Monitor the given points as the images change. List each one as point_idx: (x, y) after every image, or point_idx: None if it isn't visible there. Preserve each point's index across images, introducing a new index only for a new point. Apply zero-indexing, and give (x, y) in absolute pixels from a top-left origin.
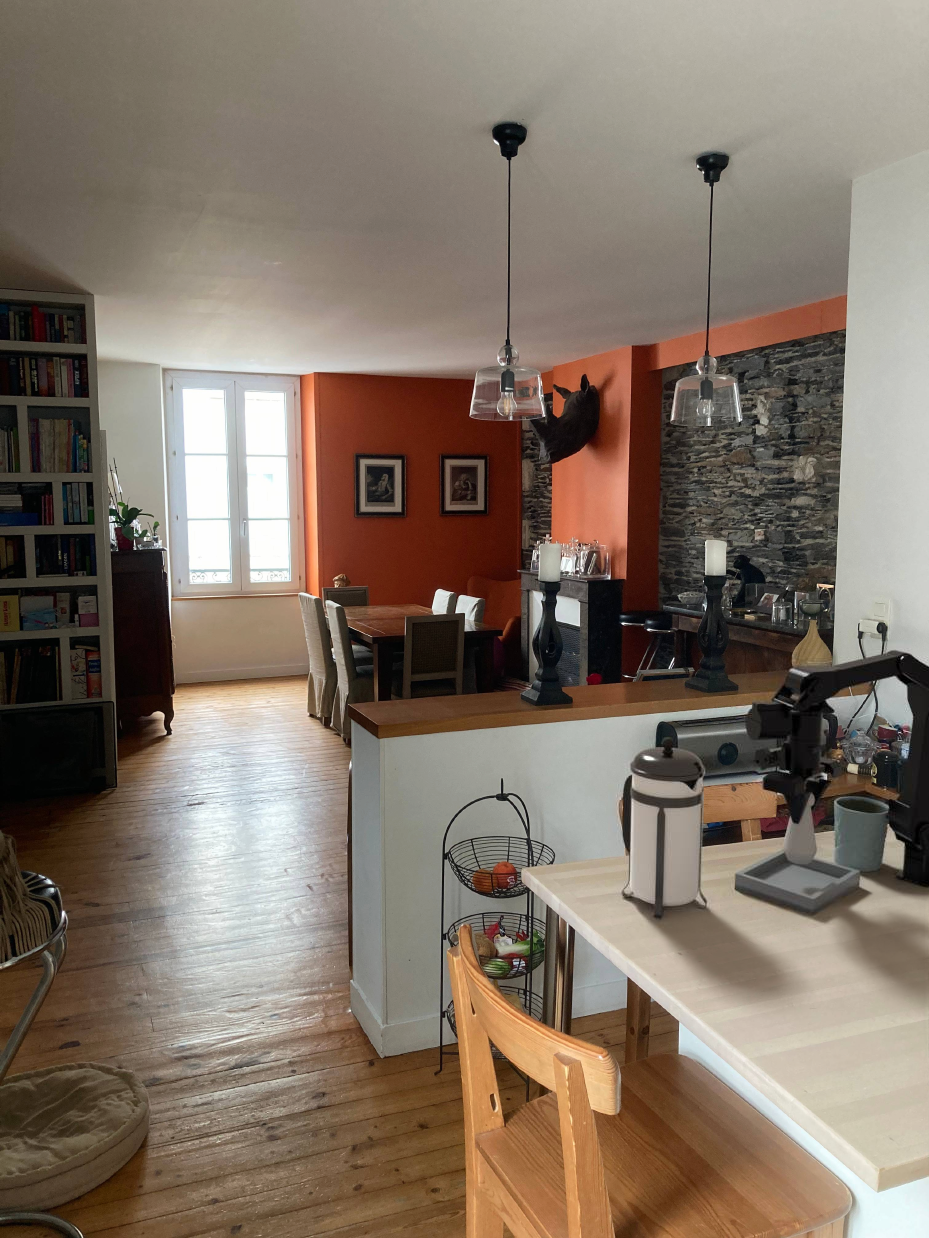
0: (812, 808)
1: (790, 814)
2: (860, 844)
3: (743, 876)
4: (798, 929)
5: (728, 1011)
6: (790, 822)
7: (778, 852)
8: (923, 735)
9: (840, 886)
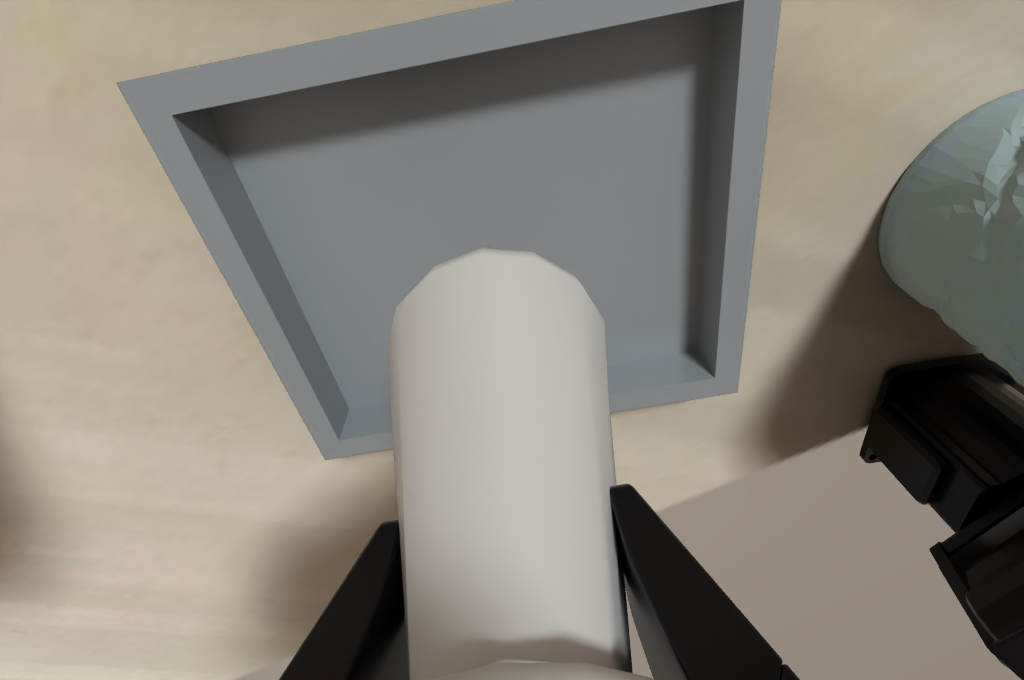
0: (648, 658)
1: (326, 608)
2: (981, 331)
3: (153, 146)
4: (223, 446)
5: None
6: (403, 476)
7: None
8: None
9: None
